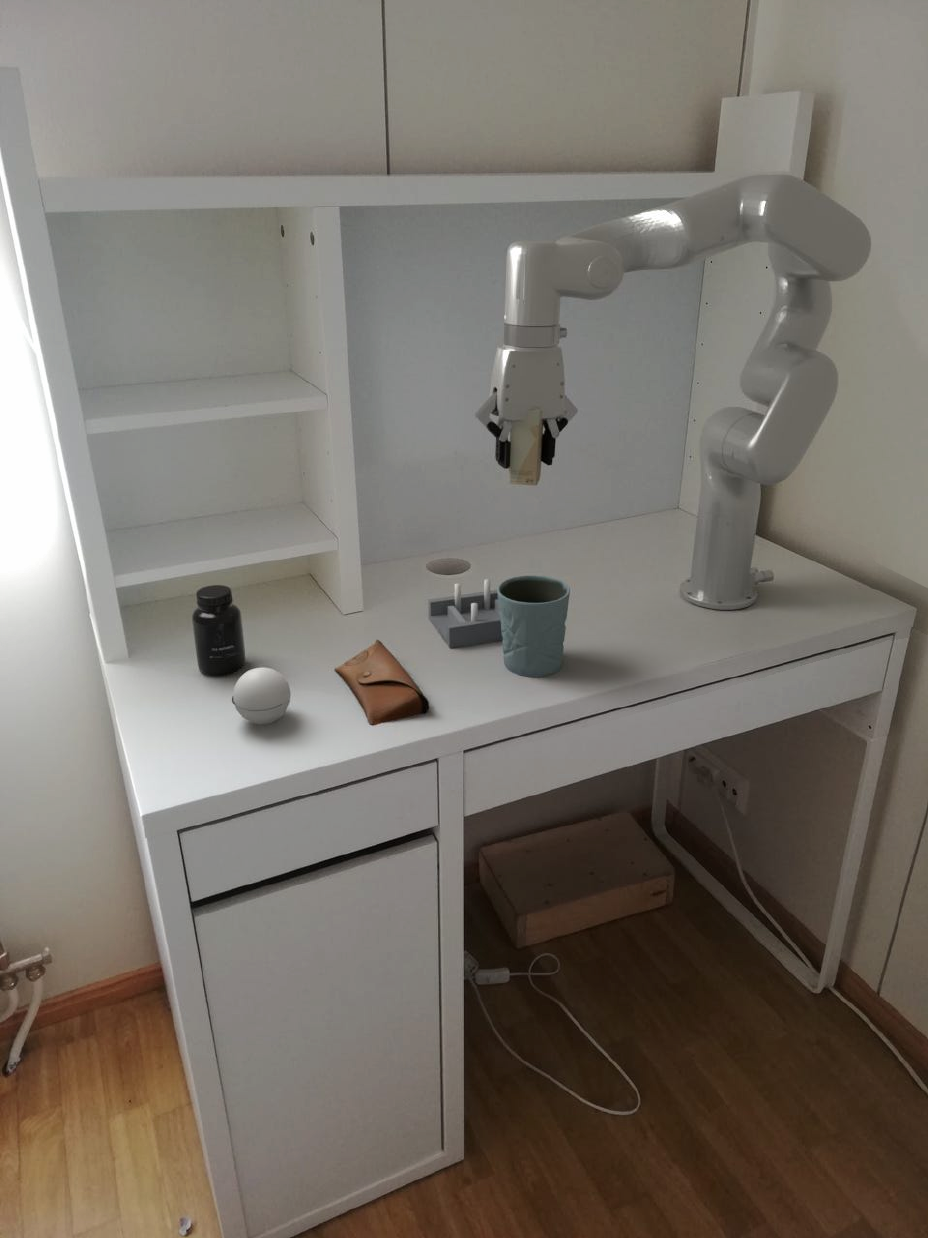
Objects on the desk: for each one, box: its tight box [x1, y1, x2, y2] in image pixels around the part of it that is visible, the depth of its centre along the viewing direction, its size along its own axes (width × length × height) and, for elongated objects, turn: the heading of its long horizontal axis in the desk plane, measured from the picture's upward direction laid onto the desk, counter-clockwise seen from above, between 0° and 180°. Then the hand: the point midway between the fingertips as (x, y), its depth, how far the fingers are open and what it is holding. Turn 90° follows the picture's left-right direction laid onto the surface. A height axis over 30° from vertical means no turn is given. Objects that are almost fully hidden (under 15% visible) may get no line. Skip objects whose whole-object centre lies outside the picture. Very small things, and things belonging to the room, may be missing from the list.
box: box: [507, 408, 544, 486], centre depth 132 cm, size 5×4×11 cm
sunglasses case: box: [334, 639, 430, 726], centre depth 126 cm, size 18×7×7 cm
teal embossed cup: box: [496, 574, 571, 678], centre depth 130 cm, size 10×10×12 cm
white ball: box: [231, 667, 292, 725], centre depth 117 cm, size 10×7×7 cm
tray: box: [427, 578, 503, 649], centre depth 143 cm, size 14×11×6 cm
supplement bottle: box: [191, 584, 247, 677], centre depth 130 cm, size 7×7×12 cm
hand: (524, 463), depth 133 cm, fingers closed on box, 6 cm apart
